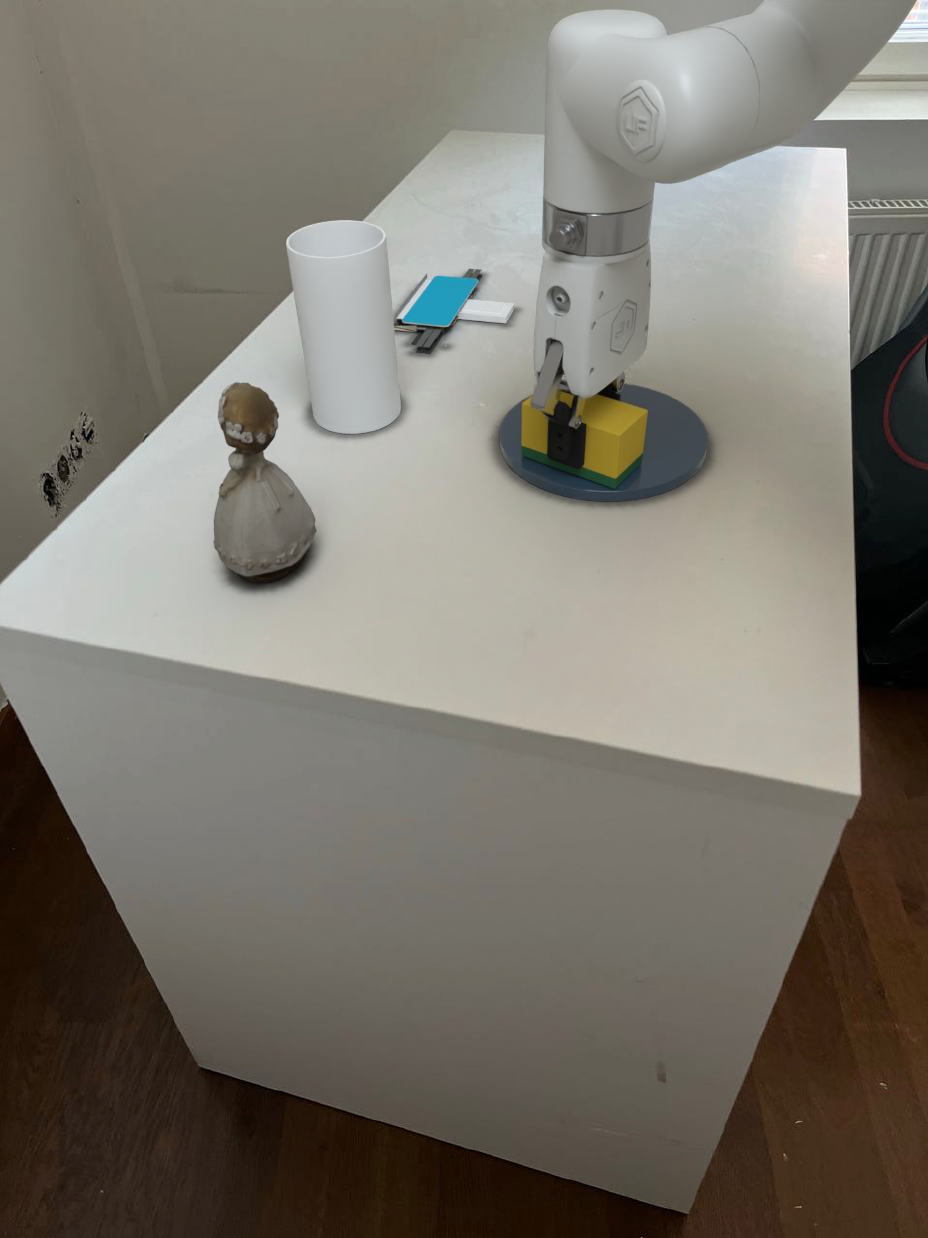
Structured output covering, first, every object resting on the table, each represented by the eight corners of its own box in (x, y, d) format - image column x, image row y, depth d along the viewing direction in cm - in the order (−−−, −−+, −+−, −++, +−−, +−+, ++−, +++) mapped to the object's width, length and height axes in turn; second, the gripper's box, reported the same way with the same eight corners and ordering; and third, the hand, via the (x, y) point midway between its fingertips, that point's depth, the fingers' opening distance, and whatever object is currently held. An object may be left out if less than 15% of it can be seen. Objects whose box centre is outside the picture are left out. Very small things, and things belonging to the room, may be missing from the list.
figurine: (250, 528, 75) (210, 354, 64) (331, 538, 73) (303, 361, 63) (209, 593, 69) (157, 413, 59) (296, 605, 68) (259, 423, 58)
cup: (397, 433, 84) (381, 256, 74) (307, 434, 85) (277, 259, 74) (404, 388, 91) (389, 218, 80) (319, 389, 91) (294, 220, 80)
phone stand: (485, 359, 94) (485, 344, 93) (374, 347, 97) (373, 332, 96) (531, 279, 108) (531, 265, 107) (433, 271, 111) (432, 256, 110)
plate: (707, 398, 87) (709, 388, 87) (705, 511, 74) (707, 500, 74) (517, 384, 90) (517, 375, 90) (482, 491, 77) (482, 481, 77)
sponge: (614, 489, 75) (619, 435, 72) (521, 455, 79) (521, 403, 76) (642, 463, 78) (648, 409, 74) (550, 431, 82) (552, 379, 78)
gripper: (579, 276, 59) (567, 513, 71) (699, 195, 68) (670, 415, 81) (482, 252, 62) (486, 481, 74) (609, 178, 72) (594, 392, 84)
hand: (582, 445), depth 77 cm, fingers closed on sponge, 4 cm apart
